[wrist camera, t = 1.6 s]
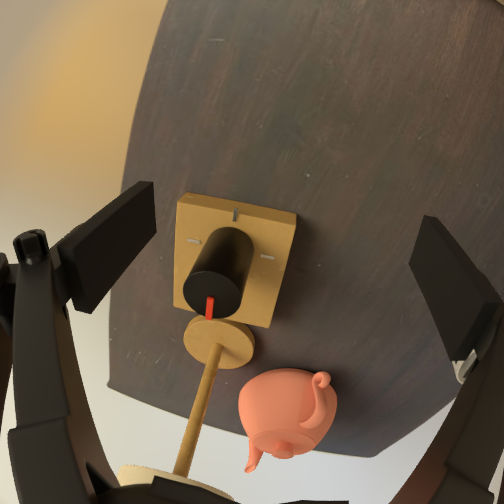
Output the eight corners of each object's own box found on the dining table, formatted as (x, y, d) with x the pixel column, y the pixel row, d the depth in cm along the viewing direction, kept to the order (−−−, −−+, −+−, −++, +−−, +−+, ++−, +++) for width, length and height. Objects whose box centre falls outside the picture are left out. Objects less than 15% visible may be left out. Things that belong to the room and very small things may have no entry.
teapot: (288, 428, 56) (283, 483, 45) (217, 402, 54) (202, 460, 43) (365, 373, 45) (372, 443, 34) (280, 337, 42) (271, 414, 32)
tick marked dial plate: (186, 186, 33) (176, 196, 31) (297, 208, 33) (297, 221, 30) (180, 292, 41) (172, 307, 38) (271, 312, 40) (268, 329, 38)
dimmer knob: (208, 222, 32) (182, 267, 25) (258, 232, 31) (244, 281, 24) (204, 263, 34) (180, 313, 27) (250, 273, 34) (236, 326, 27)
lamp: (180, 298, 41) (74, 540, 13) (269, 318, 41) (222, 587, 13) (179, 354, 48) (108, 549, 20) (254, 372, 47) (213, 579, 19)
